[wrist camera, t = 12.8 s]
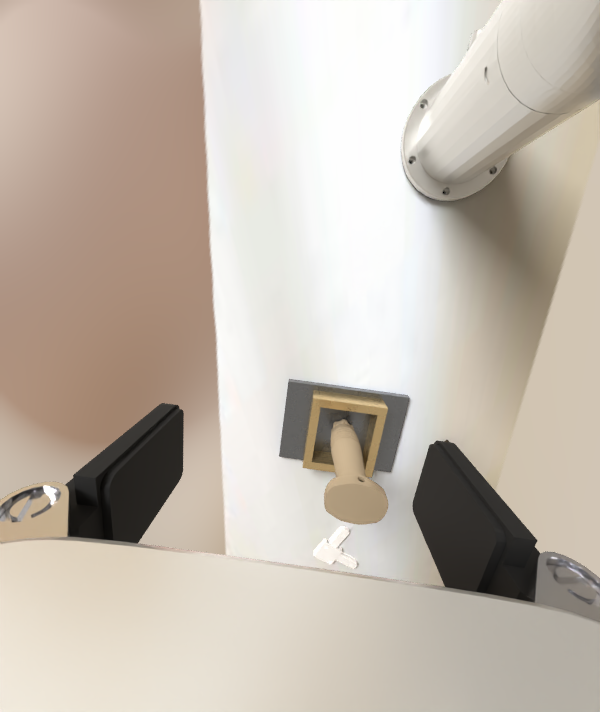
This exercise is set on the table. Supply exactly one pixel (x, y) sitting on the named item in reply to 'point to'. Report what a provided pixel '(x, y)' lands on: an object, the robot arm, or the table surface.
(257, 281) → the table surface
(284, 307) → the table surface
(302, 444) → the collar base
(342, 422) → the handle
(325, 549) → the corner connector
